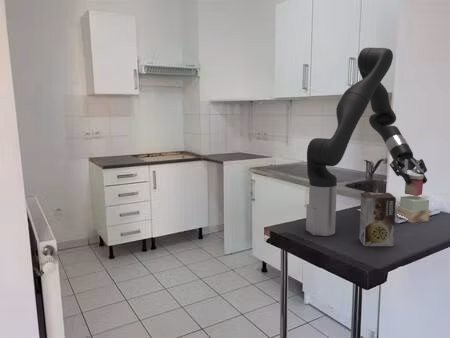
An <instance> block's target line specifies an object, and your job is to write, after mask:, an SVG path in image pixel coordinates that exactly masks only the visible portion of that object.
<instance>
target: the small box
mask: <svg viewBox="0 0 450 338" xmlns="http://www.w3.org/2000/svg"><path fill="white" fill-rule="evenodd" d="M408 174H409V176H410V178H411V180H412V183H411V184H410V185H408V184H407V183H406V182H405V186H404V194H405V195H408V196H419V197H420V196H421V195H423V188H424V187H423V186H424V184H423V178H424V175H425V174H424V175H422V174H416V173H413V172H411V173H408Z"/></svg>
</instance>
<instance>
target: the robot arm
mask: <svg viewBox="0 0 450 338" xmlns="http://www.w3.org/2000/svg"><path fill="white" fill-rule="evenodd" d="M393 59H394V54H393V51H392V49H390V48H387V47H364V48H362V50H360V52H359V54H358V57H357V67H358V71H359V73H360V76H361V79H360V80H359V81H357V82H356V83H354V84H353V85H351V86H350V87H348V88H347V89H346V90H345V91H344V93H343V94H342V96H341V98H340V99H339V101H338V103H337V105H336V118H337V119H336V120H337V127H336V130H335V131H334V134H333V135H332V136H331V138H325V137H323V138H322V137H316V138H315V137H314V138H313V139H311V140H310V141H309V143H308V146H307V150H306V171H307V179H308V181H309V183H308V184H309V185H308V187H309V188H308V204H306V207H305V208H306V210H305V212H306V218H305V219H306V221H305V230H306V231H307V232H308V233H310V235H312V236H320V237H328V236H333V235H335V233H336V213H337V189H338V188H337V185H338V184H337V183H338V179H337V177H336V175H334V174H332V173H331V172H330V171H329V170H328V169H327V167H335V166H338V164H339V163H340V162H341V161H342V159H343V157H344V155H345V152H346V150H347V148H348V146H349V142H350V140H351V137H352V135H353V133H354V132H355V129H356V127H357V125H358V124H359V121H360V119H361V118H362V116H363V115H364V112H365V111H366V110H367V107H368V105H369V103H370V107H371V111H372V112H373V114H371V115H370V116H369V118H368V121H369V125H370V126H371V128H372V129H373V130H375V132H377V133H378V134H379V135H380V136H381V138H382V140H383V141H384V144H385V146H386V148H387V151H388V152H389V154H390V157H391V158H392V161H391V162H390V163H389V166H390V168H391V169H392V171H393V172H394V173H395V175H396V176H397V177H400V176H401V178H403V180H404V182H405V183H407V184H408V185H410V184H411V183H412V180H411V178H410V176H409V174H410V173H408V171H411V173H414V174H422V175H424V178H423V185H425V184H426V183H427V182H428V178H427V177H426V175H425V173H426V172H428V169H427V167H426V163H425V161H424V160H423V159H422V158H420V159H416V158H415V157H414V152H413V151H412V149H411V147H410V145H409V144H408V142H407V140H406V139H405V138H404V136H403V134H402V133H401V131H400V129H399V128H398V127H397V126H396V125H393V124H394V123H395V122H396V121H397V116H396V113H395V111H394V110H393V109H392V107H391V104H390V98H389V97H390V96H389V93H388V91H387V88H386V86H384V85H383V83H382V82H381V81H383V79H384V78H385V77H386V75H387V73H388V72H389V70H390V69H391V68H390V67H391V66H392V63H393Z"/></svg>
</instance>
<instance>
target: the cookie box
mask: <svg viewBox="0 0 450 338" xmlns="http://www.w3.org/2000/svg"><path fill="white" fill-rule="evenodd" d="M396 201H397V198H396V196H394V194H392V193H390V192H361V193H360V211H359V212H360V215H359V216H360V218H359V237H358V238H359V241H360V242H361V244H362V245H363V247H394V245H395V243H394V241H395V223H396V222H395V221H396V220H395V219H396Z"/></svg>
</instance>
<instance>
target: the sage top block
mask: <svg viewBox="0 0 450 338" xmlns="http://www.w3.org/2000/svg"><path fill="white" fill-rule="evenodd" d="M399 200H400V201H399V206H400V207H402V208H405V209H407V210H410V211H423V210H430V209H429V208H430V207H429V206H430V200H429V199H427V198H425V197H421V196H420V195H419V196H414V195H405V196H400V199H399Z"/></svg>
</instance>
